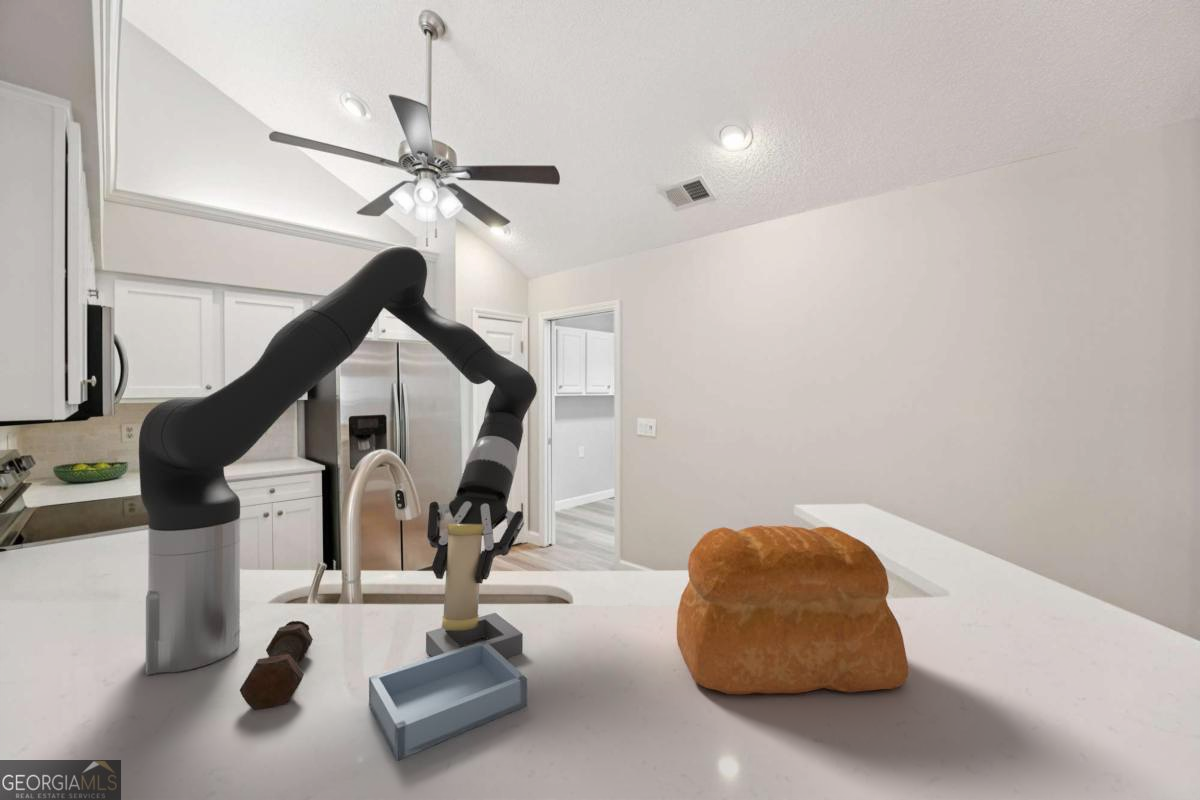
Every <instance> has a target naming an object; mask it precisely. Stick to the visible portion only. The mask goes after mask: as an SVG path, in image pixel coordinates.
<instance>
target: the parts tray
mask: <svg viewBox="0 0 1200 800" xmlns="http://www.w3.org/2000/svg"><path fill="white" fill-rule="evenodd" d="M486 641H487V640H483V641H482V640H481V641H479V642H476V643H472V644H470V645H466V646H464V647H461V648H459V649H456V650H453V651H450V652H447V653H444V654H440V655H437V656H434V657H431V656H430V657H428V658H425V659H422V660H418V661H416V662H413V663H409V664H406V665H403V666H399V667H396V668H393V669H390V670H386V671H384V672H380V673H378V674H377V673H376V674H375V675H374V674H373V675H371V676H369V677H368V706H369V708H370V710H371V712H372V713H373V715H374V717H375V719H376V721H377V723H378V724H379V727H380V729H381V731H382V733H383V735H384V736H385V739H386V740H387V741H386V742H387V743H388V745H389V746H390V748H391V751H392V753H393V754H394V757H395V759H396V761H399V760H402V759H405V758H407V757H410V756H412V755H413V754H416V753H419V752H420V751H423V750H426V749H427V748H430V747H433V746H435V745H438V744H440V743H442V742H444V741H447V740H449V739H451V738H454V737H456V736H459V735H461V734H464V733H466V732H468V731H471V730H473V729H475V728H477V727H479V726H480V727H481V726H482V725H485V724H487V723H490V722H492V721H494V720H497V719H499V718H501V717H503V716H505V715H509V714H511V713H513V712H516V711H517V710H519V709H522V708H525V707H527V705H528V702H527V701H528V700H527V699H528V698H527V697H528V678H527V677H526V676H525V675H524V674H523V673H522V672H520V670H519V669H517V667H515V666H514V665H513V664H512V663H511V662H509V660H508V659H507V658H504V657H503V656H502V655H501V654H499V653H498V652H497V651H496V650H495V649H494V648H493V647H492V646H491V645H489V644H488V643H487V642H486Z"/></svg>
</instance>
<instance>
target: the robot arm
mask: <svg viewBox="0 0 1200 800" xmlns="http://www.w3.org/2000/svg"><path fill="white" fill-rule="evenodd" d="M427 278H428V266H427V262H426V259H425V257H424V256H423V254H422V253H421V252H419V250H417V249H415V248H413V247H411V246H407V245H394V246H390V247H389V246H388V247H386V248H384V249H382V250H380V251H379V252H377V253H376V254H375V255H374V256H373V257H372V258H371V259H370V260H368V261H367V263H365V264H364V265H363V266H362V267H361V268H360V269H359V270H358V271H357V272H356V273H354V275H352V277H350V278H349V279H348V280H346V281H345V282H344V283H343V284H341V285H339V287H337V288H335V289H334V290H333V291H331V293H330V292H329V294H327V295H326V296H325V297H324V298H323V299H321V300H319V301H318V302H317V303H315V304H314V305H312V306H311V307H309V308H307V309H306V310H304V311H303V312H302V313H300V314H299V315H297V316H296V317H295V318H293V319H292V320H290V321H289V322H288V323H286V324H285V325H284V326H282V328H280V329H279V330H278V331H277V332H275V335H273V337H272V338H271V339H270V341H269V343H268V345H267V346H266V348H265V349H264V351H263V353H262V354H261V356H260V358H259V359H258V361H256V363H255V364H254V365H253V366H252V367H251V368H250V369H248V370H247V371H246V372H245V373H243V374H242V375H240V376H238V377H237V378H235V379H234V380H233V381H231V382H230V383H228V384H226V385H225V386H223V387H222V388H220V389H219V390H217V391H215V392H213V393H211V394H209V395H207V396H204V397H177V398H172V399H168V400H165V401H162V402H161V403H159V404H157V405H155V407H153V408H152V409H151V410H149V412H148V413H147V414H146V416H145V417H144V419H143V421H142V424H141V425H140V430H139V436H138V464H139V484H140V485H139V486H140V490H139V491H140V497H141V502H142V505H143V506H144V508H145V511H146V513H147V518H148V520H147V524H148V525H147V526H148V530H147V531H148V534H147V535H148V541H147V543H148V550H147V551H148V553H147V554H148V561H147V562H148V563H147V564H148V567H147V570H148V572H147V574H148V576H147V578H148V579H147V580H148V581H147V582H148V583H147V584H148V586H147V588H148V589H147V592H146V593H147V594H146V595H145V675H147V676H149V675H152V674H157V673H177V672H184V671H188V670H189V671H190V670H193V669H196V668H197V669H198V668H200V667H203V666H207V665H210V664H213V663H215V662H218V661H219V660H222V659H224V658H225V657H227V656H229V655H231V654H232V653H234V651H235V650H237V649H238V648H239V647H240V642H241V641H240V637H241V635H240V634H241V625H240V623H241V622H240V621H241V620H240V619H241V617H240V615H241V614H240V613H241V600H240V599H241V595H240V594H241V501H240V498H239V495H237V493H236V492H235V491H234V490H233V489H232V488H231V487H230V486H229V484H228V482H227V480H226V477H225V468H226V467H228V466H230V465H232V464H234V463H236V462H237V461H238V460H240V459H241V458H242V457H244V455H246V454H247V453H248V452H249V451H250V449H252V448H253V446H255V445H256V444H257V442H258V441H259V440H260V439H261V437H263V436H264V435H265V434H266V432H268V431H269V429H270V428H271V427H272V426H273V425H274V424H275V423H276V422H277V421H278V420H279V418H280V417H281V416H282V415H283V414H284V413H285V412H286V411H287V410H288V409H289V408H290V407H291V406H293V404H294V403H296V402H297V401H298V400H299V399H300V398H303V396H305V395H306V394H307V393H308V392H309V391H310V390H312V389H313V388H314V387H315V386H316V385H317V384H318V383H319V382H321V381H322V380H323V379H324V378H326V376H328V375H329V374H330V373H331V372H333V371H334V370H336V368H338V366H340V365H341V364H343V363H344V361H345V360H347V359H348V358H349V357H350V356H352V355H353V353H354V352H355V351H356V350H357V349H358V348H359V346H360V345H361V344H362V342H363V341H364V339H366V337H367V335H368V334H369V332H370V331H371V329H372V327H373V326H374V323H376V320H377V319H378V317H379V316H380V315H381V314H380V313H381V312H382V311H383V310H384V309H385V310H386V311H388V313H390V314H391V315H393V316H394V317H395V318H397V319H398V320H400V321H401V322H402V323H404V324H405V325H406V326H408V327H409V328H410V329H411V330H413V331H414V332H416V333H417V334H418V335H419V336H421V337H423V339H425V340H426V341H428V342H429V343H430V344H431V345H433V347H435V348H436V349H437V350H438V351H439V352H440V353H441V354H442V355H444V357H445V358H446V359H447V360H448V361H449V362H451V364H452V365H453V366H454V367H455V368H456V369H457V371H459V372H460V373H461V374H462V375H463V376H464V378H466V379H467V380H468V381H469V382H470V383H473V384H474V385H481V384H484V383H487V382H488V381H490V382H491V383H492V384H493V385H494V388H493V390H492V392H491V394H490V396H489V399H488V401H487V405H486V409H485V412H484V417H483V421H482V424H481V426H480V429H479V431H478V435H477V438H476V440H475V443H474V444H473V447H472V449H471V451H470V453H469V455H468V458H467V459H466V462H465V467H464V470H463V473H462V476H461V479H460V482H459V485H458V488H457V491H456V494H455V496H454V497H453V498H452V500H451V501H450V502H449V503H442V504H439V503H438V502H437V501H431V502H430V503H429V509H428V521H427V536H426V537H427V540H428V541H429V545H430V547H431V548H433V549H435V548H436V549H437V550H436V553H435V555H434V559H433V562H432V564H431V567H432V569H431V570H432V571H433V574H434V576H435V578H436V579H439V580H442V579H443V578H444V576H445V574H446V567H447V550H448V526H447V529H446V530H445V532H444V533H443V534H442V535H441V521H444V520H445V518H446V516H447V514H449V513H450V514H451V517H452V519H451V520H450V522H449V523H448V524H461V523H471V524H483V534H482V537H483V544H484V545H483V546H484V550H481V557H480V560H479V564H478V568H477V571H476V575H475V579H476V583H479V584H483V581H484V580H485V581H486V580H487V579H488V578H489V576H490V573H491V569H492V565H493V561H494V559H495V558H496V557H497V556H500V555H501V556H503V557H504V556H508V554H509V553H510V550H511V549H512V548H513V545H514V543H515V541H516V539H517V538H518V537H519V534H520V532H521V530H522V528H523V527H524V524H525V521H524V512H522V511H521V510H520V511H519V510H518V511H516V512H514V511H511V510H508V506H507V505H508V501H509V497H510V493H511V491H512V490H511V489H512V484H513V482H514V478H515V474H516V470H517V465H518V455H519V451H520V449H521V448H520V447H521V444H522V440H523V434H524V429H523V425H522V424H523V421H524V419H525V416H526V413H527V412H528V410H529V408H530V407H531V405H532V403H533V401H534V399H535V398H536V396H537V393H538V392H537V391H538V388H537V387H538V386H537V383H536V381H535V379H534V376H532V375H531V373H530V372H529V371H528V370H526V369H525V368H524V367H522V366H520V365H519V364H517V363H515V362H513V361H511V360H510V359H508V358H507V357H505V356H502V355H501V354H499V353H497V352H496V351H495V350H494V349H493V348H492V347H491V346H490V345H489V344H488V343H487V342H486V341H485V339H484V338H482V337H481V335H480V334H478V333H477V332H476V331H475V330H473V328H470V327H469V326H468V325H465V324H463V323H461V322H458V321H456V320H451V319H448V318H446V317H444V316H441V315H440V314H439V313H437V312H436V311H435V310H434V309H433V308H432V307H431V306H430V304H429V303H428V301H427V300H426V298H425V297H424V295H425V290H426V285H427V284H426V283H427ZM505 520H506V526H507V527H506V529H505V530H504V533H503V534H502V536H501V538H500V539H499V541H496V542H495V541H494V540H495V539H494V531H493V530H494V529H495V528H497V527H498V526H499V525H500V524H501V523H502V522H504V521H505Z"/></svg>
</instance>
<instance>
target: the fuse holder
mask: <svg viewBox="0 0 1200 800" xmlns="http://www.w3.org/2000/svg"><path fill="white" fill-rule="evenodd" d="M483 638H486V639H487V640H485V641H486V642H487V643H488V644H489V645H491V646H492V647H493V648H494V649H495V650H496V651H497V652H498V653H499V654H501V655H502V656H503V657H504V658H505V659H508V658H511V657H513V656H516V655H519V654H522V653H523V649H524V648H523V645H524V644H523V643H524V642H523V640H524V639H523V633H522V632H521V631H520V630H518V628H516V627H515V626H513V625H512V624H511V623H509V622H508V621H507V620H505V619H504V618H503V617H502V616H500V615H499V614H498V613H497V612H492V613H489V614H486V615H483V616H479V617H478V626H477V627H475V628H472V629H468V630H459V631H453V630H446V629H443V628H442V627H440V628H436V629H433V630H428V631H426V632H425V652H426V653H427V654H428V655H429V657H430V658H431V657H434V656H437V655H440V654H444V653H447V652H450V651H453V650H456V649H459V648H462V647H461V645H463V644H466V643H470V642H473V640H474V641H477V640H479V639H483ZM476 639H477V640H476Z"/></svg>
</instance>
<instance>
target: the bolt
mask: <svg viewBox="0 0 1200 800" xmlns="http://www.w3.org/2000/svg"><path fill="white" fill-rule="evenodd" d="M313 641H314V640H313V637H312V635H311V633H310V626H309V625H308V624H307V623H305V622H304V621H301V620H292V621H289V622H287V623H286V624H285V625H284V626H280V627H278V629H277V631H276V633H275V634H274V635H273V637H272V639H271V640H270V642H269V644H268V646H267V647H266V649H265V652H266V653H267V656H268V657H263V658H258V659H257V661H256V662H255V664H254V665H253V668H251V670H250V672H249V674H248V676H246V679H245V680H244V682H243V683H242V685H241V687H240V689H239V692H240V694H241V696H242V698H243V700H244V701H245V702H246V704H247V706H249V708H251V709H252V710H253V711H265V710H269V709H274V708H275V709H276V708H278V707H282V706H285V705H288V704H289V703H290V701H291V699H292V698H293V696H294V695H295V693H296V692H297V690H298V687H299V686H300V684H301V682H302V680H303V677H304V672H303V670H302V669H301V668H300V667H299V665H298V662H301V661H302V660H303V659H304V656H305V655H306V653H307V652H308V650H309V648H310V647H311V644H312V643H313ZM287 703H288V704H287Z"/></svg>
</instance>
